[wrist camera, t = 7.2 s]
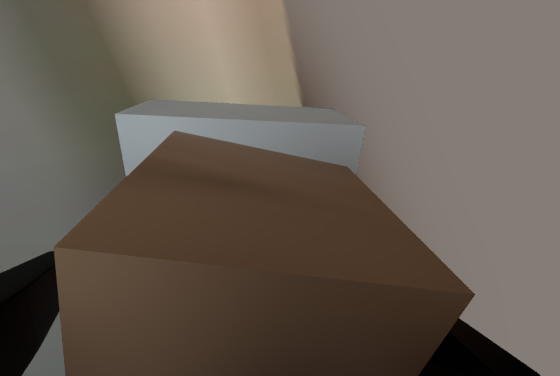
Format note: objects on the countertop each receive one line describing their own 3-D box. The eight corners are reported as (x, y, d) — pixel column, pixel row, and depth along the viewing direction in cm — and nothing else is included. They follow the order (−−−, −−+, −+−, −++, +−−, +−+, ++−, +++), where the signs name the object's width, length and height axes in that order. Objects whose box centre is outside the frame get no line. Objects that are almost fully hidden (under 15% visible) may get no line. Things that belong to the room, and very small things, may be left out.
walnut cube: (301, 290, 12) (348, 474, 7) (160, 276, 11) (75, 490, 5) (347, 166, 10) (475, 294, 4) (174, 130, 8) (54, 246, 3)
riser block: (311, 245, 16) (331, 298, 12) (172, 248, 15) (149, 307, 11) (331, 108, 13) (366, 125, 9) (154, 98, 12) (114, 113, 8)
